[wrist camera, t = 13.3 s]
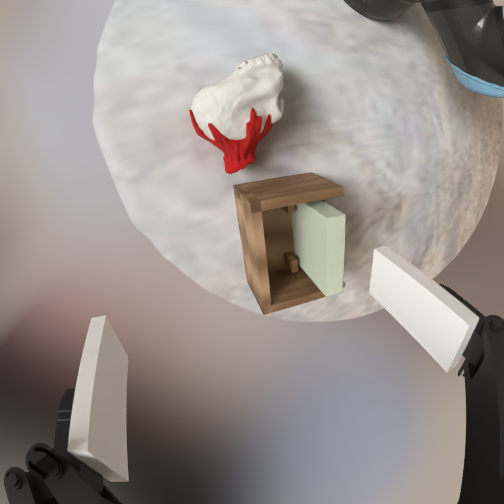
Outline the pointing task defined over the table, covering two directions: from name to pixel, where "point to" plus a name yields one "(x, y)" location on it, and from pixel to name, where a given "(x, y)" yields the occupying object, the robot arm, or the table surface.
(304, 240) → the door
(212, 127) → the white and red lump
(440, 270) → the table surface
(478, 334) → the robot arm
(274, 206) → the cabinet
